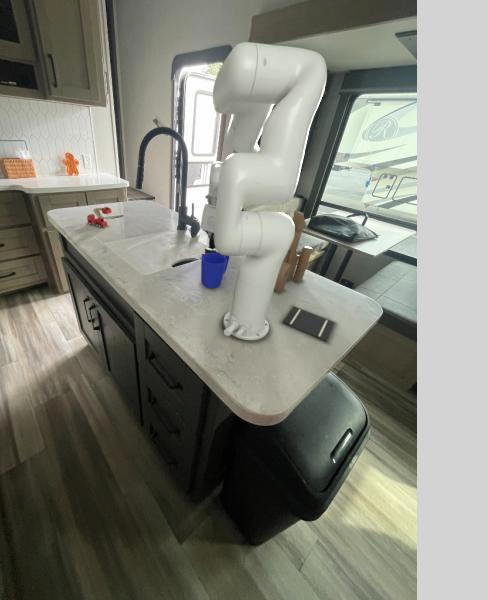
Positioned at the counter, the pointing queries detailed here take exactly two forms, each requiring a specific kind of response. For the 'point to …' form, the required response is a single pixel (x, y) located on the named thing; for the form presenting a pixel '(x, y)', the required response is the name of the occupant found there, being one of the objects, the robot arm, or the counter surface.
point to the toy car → (210, 251)
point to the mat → (309, 323)
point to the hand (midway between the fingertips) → (212, 247)
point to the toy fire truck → (100, 219)
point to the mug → (213, 269)
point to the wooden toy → (294, 257)
